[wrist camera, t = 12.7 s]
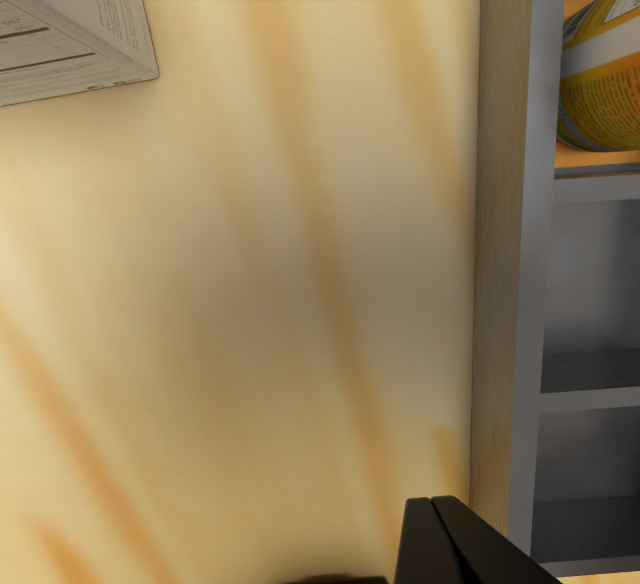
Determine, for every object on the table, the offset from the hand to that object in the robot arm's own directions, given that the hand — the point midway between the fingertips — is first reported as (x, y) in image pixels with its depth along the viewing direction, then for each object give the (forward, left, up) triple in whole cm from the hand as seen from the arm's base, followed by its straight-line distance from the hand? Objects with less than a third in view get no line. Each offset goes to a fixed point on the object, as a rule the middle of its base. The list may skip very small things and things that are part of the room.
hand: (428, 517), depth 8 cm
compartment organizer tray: (+1, -10, -13) cm, 16 cm away
